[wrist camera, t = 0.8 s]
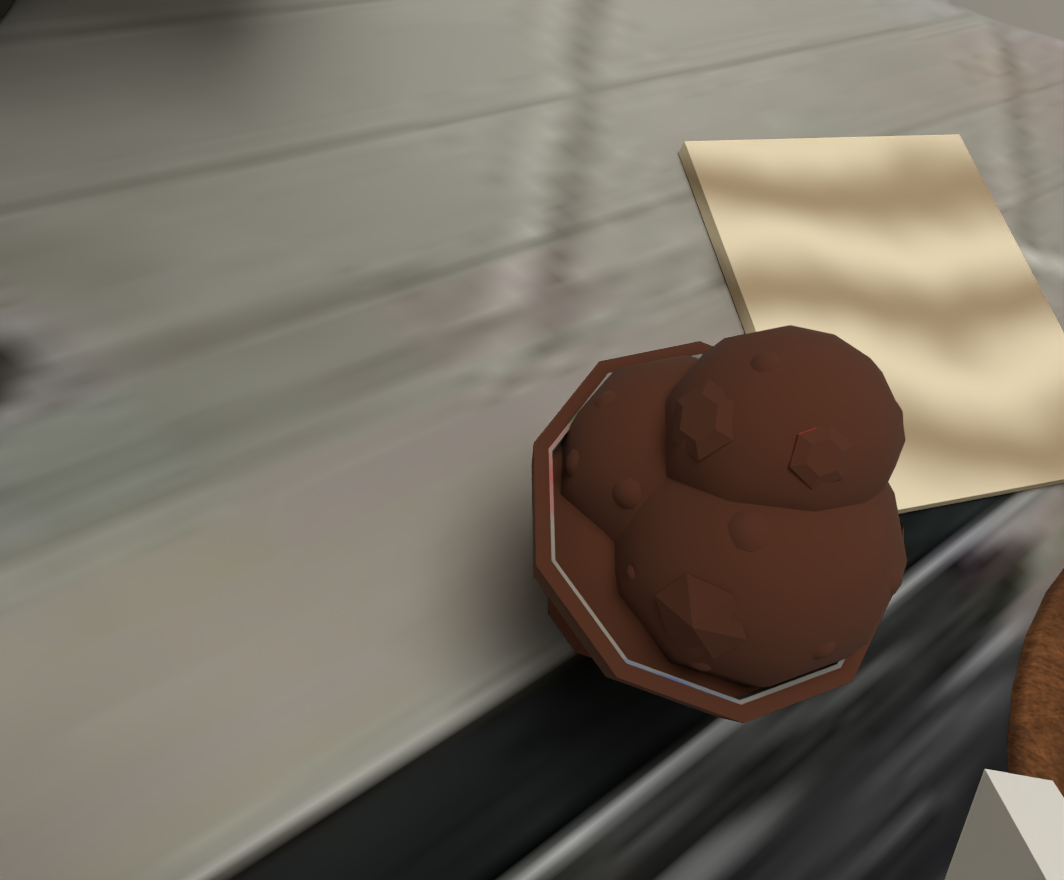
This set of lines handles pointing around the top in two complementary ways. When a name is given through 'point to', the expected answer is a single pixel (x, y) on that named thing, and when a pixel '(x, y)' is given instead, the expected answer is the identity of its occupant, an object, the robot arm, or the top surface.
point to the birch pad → (899, 294)
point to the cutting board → (1040, 695)
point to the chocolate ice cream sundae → (723, 518)
